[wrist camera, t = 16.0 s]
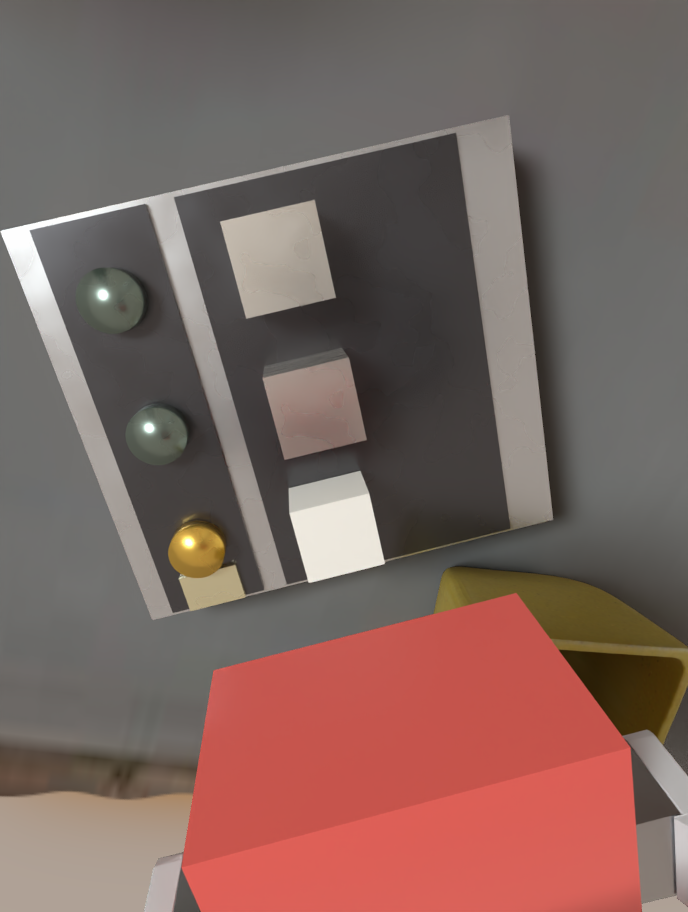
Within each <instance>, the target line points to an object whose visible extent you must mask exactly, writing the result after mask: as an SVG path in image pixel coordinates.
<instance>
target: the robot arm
mask: <svg viewBox="0 0 688 912" xmlns="http://www.w3.org/2000/svg"><path fill="white" fill-rule="evenodd" d="M622 737H623V738H624V739H625V741H626V742H627V743H628V745H629V746H630V748H631V762H632V776H633V791H634V805H635V819H636V834H637V848H638V862H639V877H640V891H641V904H643V903H647V902H651V901H655V900H659V899H664V898H668V897H672V896H676V895H677V899H678V900H680V901H681V902H682V903H683V904H685V905H686V906H687V907H688V775H687V774H686V773H685V771H684V770H683V769H682V768H681V766H680V765H679V764H678V763H677V762H676V760H675V759H674V758H673V757H672V755H671V754H670V753H669V752H668V751H667V749H666V748H665V747H664V746H663V745H662V743H661V742H660V741H659V740H658V738H657V737H656V736H655V735H654V734H653V733H652V732H650V731H649V730H643V731H639V732H636V733H632V734H628V735H624V736H622ZM183 854H184V852H182V853H179V854H175V855H171V856H167V857H163V858H159V859H158V861H157V863H156V865H155V867H154V869H153V872H152V877H151V882H150V887H149V891H148V896H147V901H146V905H145V910H144V912H201V911H200V908H199V906H198V904H197V902H196V899H195V897H194V895H193V893H192V890H191V888H190V886H189V884H188V882H187V879H186V877H185V875H184V873H183V870H182V868H181V866H182V860H183Z"/></svg>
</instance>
